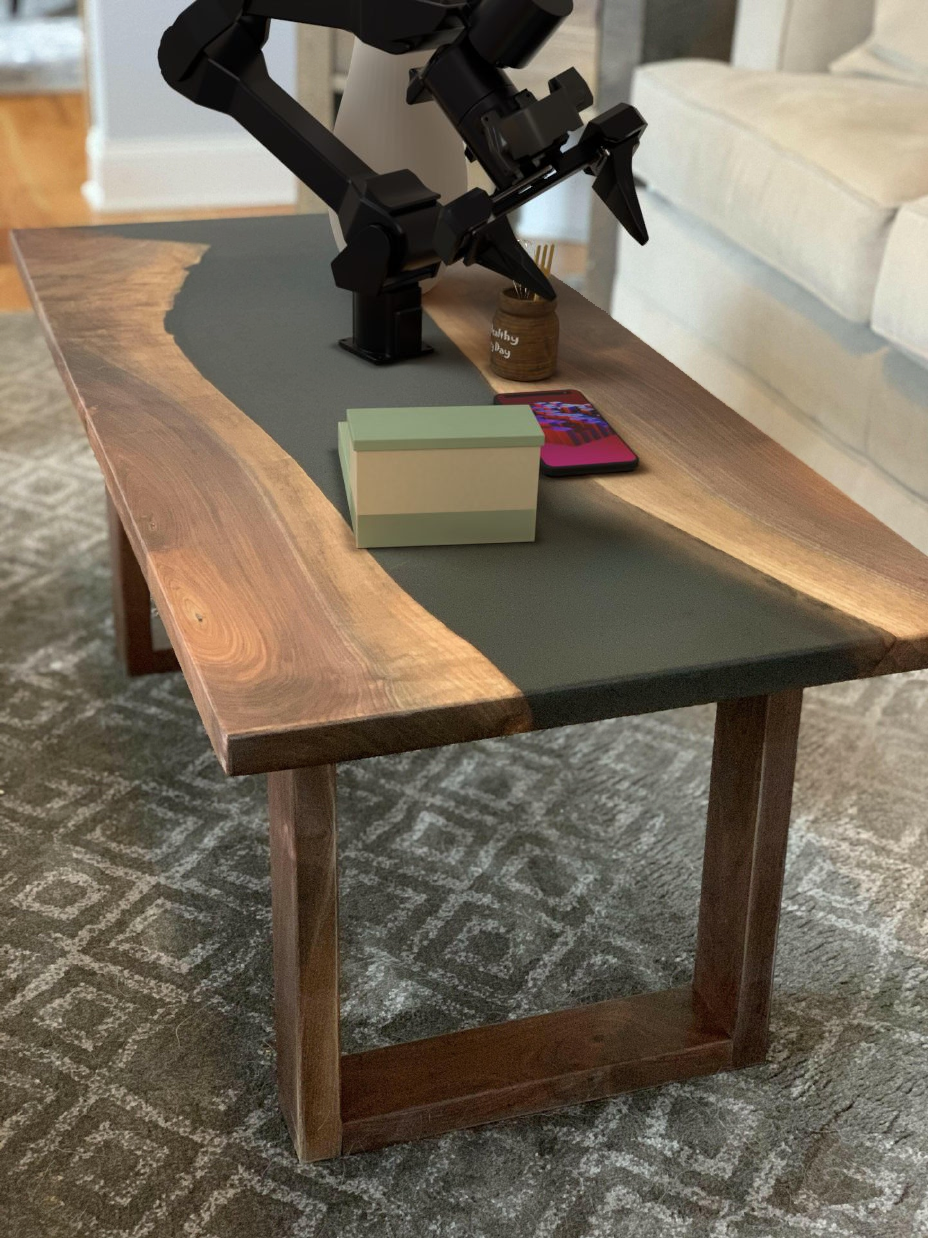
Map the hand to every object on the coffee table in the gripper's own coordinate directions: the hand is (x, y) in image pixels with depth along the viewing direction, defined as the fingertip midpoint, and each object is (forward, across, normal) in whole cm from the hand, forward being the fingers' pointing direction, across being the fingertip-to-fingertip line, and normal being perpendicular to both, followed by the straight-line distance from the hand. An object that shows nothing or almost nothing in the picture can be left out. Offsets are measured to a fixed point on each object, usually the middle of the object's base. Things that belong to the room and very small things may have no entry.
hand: (600, 270), depth 110 cm
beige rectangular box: (+8, -23, -4) cm, 24 cm away
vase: (-16, -3, +34) cm, 37 cm away
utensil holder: (+1, -4, +15) cm, 16 cm away
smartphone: (+9, -9, +4) cm, 13 cm away
